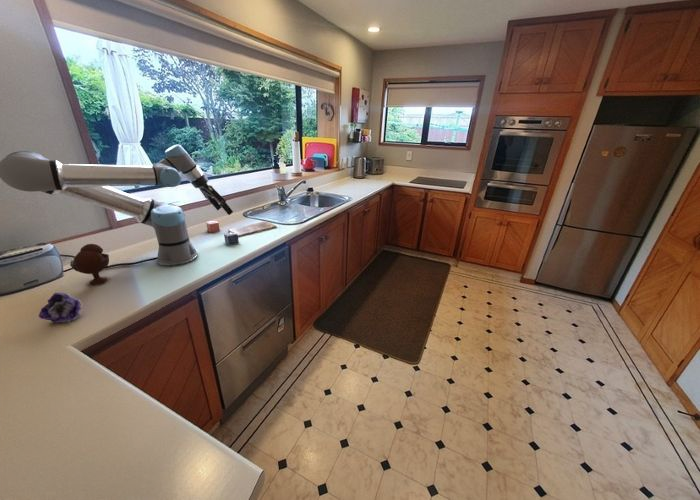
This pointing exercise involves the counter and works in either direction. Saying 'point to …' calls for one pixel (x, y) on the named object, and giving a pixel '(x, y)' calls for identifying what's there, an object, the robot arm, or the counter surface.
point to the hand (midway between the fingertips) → (225, 211)
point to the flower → (61, 308)
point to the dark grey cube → (231, 238)
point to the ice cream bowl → (91, 262)
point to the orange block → (212, 226)
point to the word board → (252, 228)
